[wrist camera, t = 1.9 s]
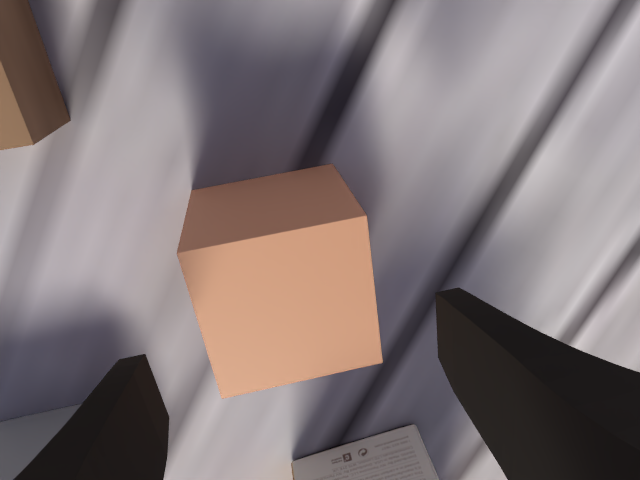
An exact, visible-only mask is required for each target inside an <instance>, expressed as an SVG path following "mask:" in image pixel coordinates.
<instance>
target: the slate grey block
mask: <svg viewBox="0 0 640 480" xmlns="http://www.w3.org/2000/svg"><path fill="white" fill-rule="evenodd" d="M82 404H83V403H82ZM82 404H78V405H73V406H69V407H64V408H60V409H55V410H51V411H46V412H42V413H37V414H33V415H28V416H24V417H19V418H15V419H10V420H5V421H1V422H0V480H13V479H14V478H15V477H16V476H17V475H18V474H19V473H20V472H21V471H22V470H23V469H24V468H25V467H26V466H27V465H28V464H29V463H30V462H31V461H32V460H33V459H34V458H35V457H36V456H37V454H38V453H39V452H40V451H41V450H42V449H43V448H44V447H45V446H46V445H47V444H48V442H49V441H50V440H51V439H52V438H53V437H54V436H55V435H56V434H57V433H58V431H59V430H60V429H61V428H62V427H63V426H64V425H65V424H66V423H67V421H68V420H69V419H70V418H71V417H72V415H73V414H74V413H75V412H76V411H77V409H78V408H79V407H80V406H81V405H82Z"/></svg>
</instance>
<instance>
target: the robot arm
mask: <svg viewBox="0 0 640 480" xmlns="http://www.w3.org/2000/svg"><path fill="white" fill-rule="evenodd" d="M436 317H437V341H438V358H439V360H440V362H441V365H442V367H443V369H444V371H445V374H446V376H447V378H448V380H449V382H450V384H451V387H452V389H453V391H454V393H455V394H456V396H457V398H458V399H459V401H460V403H461V404H462V406H463V408H464V409H465V411H466V412H467V414H468V416H469V417H470V419H471V421H472V422H473V424H474V425H475V427H476V429H477V430H478V432H479V433H480V435H481V437H482V438H483V440H484V441H485V443H486V445H487V446H488V448H489V449H490V451H491V453H492V454H493V456H494V457H495V459H496V461H497V462H498V464H499V465H500V467H501V469H502V470H503V472H504V474H505V476H506V477H507V479H508V480H640V373H639V372H636V371H633V370H630V369H627V368H625V367H622V366H619V365H616V364H613V363H611V362H608V361H606V360H603V359H600V358H598V357H595V356H593V355H590V354H588V353H585V352H583V351H580V350H578V349H576V348H573V347H571V346H569V345H567V344H564V343H562V342H560V341H558V340H556V339H554V338H552V337H550V336H547V335H545V334H543V333H541V332H539V331H537V330H535V329H533V328H531V327H529V326H528V325H526V324H524V323H522V322H520V321H518V320H516V319H514V318H513V317H511V316H509V315H507V314H505V313H503V312H502V311H500V310H498V309H496V308H495V307H493V306H491V305H489V304H488V303H486V302H484V301H482V300H480V299H479V298H477V297H475V296H473V295H472V294H470V293H468V292H466V291H464V290H462V289H460V288H455V289H450V290H446V291H441V292H436ZM168 432H169V415H168V413H167V410H166V407H165V405H164V402H163V400H162V397H161V394H160V392H159V389H158V386H157V384H156V381H155V378H154V376H153V373H152V371H151V368H150V365H149V363H148V360H147V357H146V355H145V354H143V355H138V356H133V357H128V358H124V359H119V360H118V362H117V363H116V364H115V365H114V366H113V367H112V368H111V370H110V371H109V372H108V373H107V374H106V376H105V377H104V378H103V379H102V380H101V382H100V383H99V384H98V385H97V387H96V388H95V389H94V390H93V391H92V393H91V394H90V395H89V396H88V398H87V399H86V400H85V401H84V402H83V404H82V405H81V406H80V407H79V408H78V409H77V411H76V412H75V413H74V414H73V415H72V417H71V418H70V419H69V420H68V421H67V423H66V424H65V425H64V426H63V427H62V428H61V429H60V430H59V431H58V433H57V434H56V435H55V436H54V437H53V438H52V439H51V440H50V441H49V442H48V444H47V445H46V446H45V447H44V448H43V449H42V450H41V451H40V452H39V453H38V454H37V456H36V457H35V458H34V459H33V460H32V461H31V462H30V463H29V464H28V465H27V466H26V467H25V468H24V469H23V470H22V471H21V472H20V473H19V474H18V475H17V476H16V477H15V478H14V479H13V480H163V478H164V472H165V467H166V461H167V450H168Z"/></svg>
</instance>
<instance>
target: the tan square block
mask: <svg viewBox="0 0 640 480" xmlns="http://www.w3.org/2000/svg"><path fill="white" fill-rule="evenodd" d="M69 121H71V120H70V117H69V115H68V112H67V109H66V106H65V103H64V101H63V98H62V95H61V92H60V89H59V86H58V84H57V81H56V78H55V75H54V72H53V70H52V67H51V64H50V61H49V58H48V56H47V53H46V50H45V47H44V44H43V41H42V39H41V36H40V33H39V30H38V27H37V25H36V22H35V19H34V16H33V13H32V10H31V8H30V5H29V2H28V0H0V150H4V149H10V148H16V147H22V146H29V145H34V144H35V143H37V142H39V141H40V140H42V139H43V138H45V137H46V136H48V135H49V134H51V133H52V132H54V131H55V130H57V129H58V128H60V127H61V126H63V125H64V124H66V123H68V122H69Z"/></svg>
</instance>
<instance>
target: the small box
mask: <svg viewBox="0 0 640 480" xmlns="http://www.w3.org/2000/svg"><path fill="white" fill-rule="evenodd" d="M291 466H292V474H293V480H439V478H438V476H437V473H436V471H435V468H434V466H433V464H432V461H431V459H430V457H429V455H428V452H427V450H426V447H425V445H424V443H423V441H422V438H421V436H420V433H419V431H418V429H417V427H416V425H409V426H406V427H402V428H398V429H395V430H392V431H388V432H385V433H382V434H378V435H375V436H372V437H368V438H365V439H362V440H359V441H356V442H352V443H349V444H345V445H342V446H339V447H336V448H332V449H329V450H326V451H323V452H320V453H317V454H314V455H310V456H307V457H304V458H301V459H298V460H295V461H293V462H292V464H291Z"/></svg>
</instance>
